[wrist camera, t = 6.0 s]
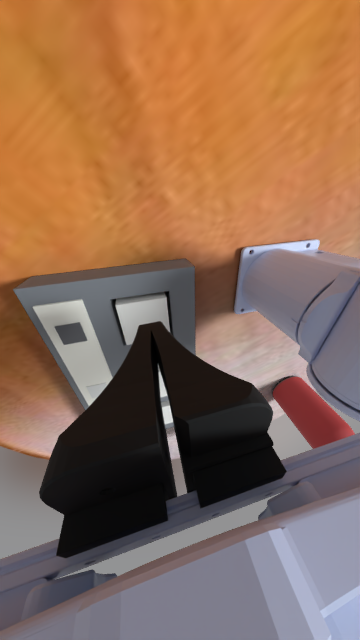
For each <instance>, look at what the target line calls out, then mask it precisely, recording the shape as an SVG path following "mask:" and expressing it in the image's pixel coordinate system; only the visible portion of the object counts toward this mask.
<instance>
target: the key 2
mask: <svg viewBox="0 0 360 640" xmlns="http://www.w3.org/2000/svg"><path fill="white" fill-rule="evenodd" d="M161 405H162V411H163V417H164V423H165V424H168V423H172V422H173V418H172V414H171V409H170V404H169V400H168V401H164V402H161Z"/></svg>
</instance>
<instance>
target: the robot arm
mask: <svg viewBox="0 0 360 640" xmlns="http://www.w3.org/2000/svg"><path fill="white" fill-rule="evenodd" d="M319 243H320V242H319V240H316V239H313V240H304V241H295V242H286V243H277V244H269V245H260V246H251V247H245V248H243V249H242V251H241V258H240V266H239V274H238V282H237V290H236V298H235V306H234V312H235V313H236V314H242V313H247V312H253V311H258V312H259V313H260V314H261V315H263V316H264V317H265V318H266V319H268V320H269V321H270V322H271V323H273V324H274V325H275V326H276V327H278V328H279V329H280V330H281V331H283V332H284V333H285V334H286V335H288V336H289V337H290V338H291V339H293V340H294V341H295V342H296V343H298V344H299V345H300V350H299V353H298V354H299V355H300V356H301V357H302V358H304V359H305V360H306V361H307V362H308V365H307V376H308V379H309V381H310V382H311V384H312V385H313V387H314V388H315V389H316V391H317V392H318V393H319V394H320V395H321V396H322V397H323V398H324V399H325V400H327V401H328V402H329V403H330V404H331V405H333V406H334V407H335V408H337V409H338V410H340V411H341V412H343V413H345V414H346V415H348V416H350V417H352V418H354V419H356V420H358V421H360V259H358V258H354V257H349V256H345V255H340V254H335V253H331V252H326V251H322V250H317V249H318V246H319ZM306 245H307V246H306ZM250 250H252V252H251V253H250V254H249V252H250ZM241 309H242V310H241ZM158 365H159V369H160V372H161V376H162V379H163V382H164V386H165V389H166V392H167V396H168V400H169V404H170V409H171V414H172V418H173V423H174V428H175V433H176V438H177V443H178V448H179V453H180V458H181V463H182V468H183V473H184V478H185V483H186V488H187V494H184V495H181V496H179V497H177V492H176V487H175V481H174V475H173V470H172V464H171V458H170V452H169V446H168V441H167V435H166V429H165V423H164V417H163V411H162V405H161V397H160V384H159V371H158ZM272 416H273V411H272V408H271V406H270V405H269V404H268V402H267V401H266V399H265V398H264V397H263V396H262V394H261V393H260V392H259V391H258V390H257V389H256V388H255V386H254V385H253V384H252V383H249V382H247V381H244V380H241V379H239V378H236V377H234V376H231V375H229V374H227V373H225V372H223V371H221V370H219V369H217V368H215V367H213V366H211V365H210V364H208V363H206V362H204V361H203V360H201V359H200V358H198V357H197V356H196V355H194V354H193V353H191V352H190V351H189V350H188V349H186V348H185V347H184V346H183V345H182V344H181V343H180V342H179V341H177V340H176V339H175V337H174V336H173V335H172V334H171V333H170V332H169V331H168V330H167V329H166V327H165V326H164V324H163V323H162V322H161V321H158V322H153V323H147V324H142V325H139V326H138V330H137V333H136V336H135V338H134V341H133V343H132V346H131V348H130V350H129V352H128V354H127V356H126V358H125V359H124V361H123V363H122V365H121V366H120V368H119V369H118V371H117V372H116V374H115V375H114V377H113V378H112V380H111V381H110V382H109V384H108V385H107V386H106V388H105V389H104V390H103V391H102V393H101V394H100V395H99V396H98V397H97V398H96V399H95V400H94V402H93V403H92V404H91V405H90V406H89V407H88V408H87V409H86V410H85V411H84V412H83V413H82V414H81V415H80V416H79V417H78V418H77V419H76V420H75V421H74V422H73V423H72V424H71V425H70V426H69V427H68V428H67V429H66V430H65V431H64V432H63V433H62V434H61V435H59V437H58V440H57V443H56V445H55V447H54V449H53V452H52V454H51V457H50V460H49V464H48V466H47V469H46V473H45V476H44V479H43V482H42V486H41V488H40V491H39V494H40V498H41V499H42V501H43V502H44V503H45V504H46V505H48V506H50V507H51V508H53V509H55V510H57V511H58V512H60V513H62V514H64V520H63V525H62V529H61V534H60V538H59V539H56V540H54V541H51V542H48V543H45V544H42V545H40V546H37V547H34V548H31V549H28V550H25V551H22V552H20V553H17V554H14V555H11V556H8V557H5V558H3V559H0V640H360V433H357V434H354V435H352V436H349V437H346V438H343V439H340V440H337V441H335V442H332V443H329V444H326V445H323V446H320V447H318V448H315V449H312V450H309V451H306V452H304V453H301V454H298V455H295V456H292V457H289V458H286V459H284V460H281V461H280V459H279V457H278V456H277V454H276V452H275V451H274V449H273V447H272V446H273V441H272V440H271V438H270V436H269V435H268V433H267V431H268V428H269V426H270V423H271V420H272ZM281 492H282V493H281ZM278 493H280V494H279V495H277V496H275V497H273V498H271V499H270V500H268V502H267V505H268V506H267V508H266V509H265V510H264V511H263V512H262V513H261V514H260V515H259V517H258V521H255V522H252V523H249V524H247V525H244V526H241V527H238V528H235V529H232V530H229V531H227V532H224V533H222V534H219V535H216V536H213V537H211V538H208V539H206V540H203V541H200V542H198V543H195V544H193V545H190V546H188V547H185V548H183V549H181V550H178V551H175V552H173V553H171V554H168V555H166V556H163V557H161V558H159V559H156V560H154V561H152V562H149V563H147V564H145V565H142V566H140V567H138V568H136V569H133V570H131V571H129V572H127V573H124V574H122V575H120V576H118V577H117V575H116V574H115V573H114V574H98V573H95V571H94V570H89V571H85V572H81V573H78V574H74V575H70V576H67V577H63V578H60V577H62V576H65V575H68V574H70V573H73V572H75V571H78V570H81V569H83V568H86V567H88V566H91V565H94V564H96V563H99V562H101V561H104V560H107V559H109V558H112V557H114V556H117V555H120V554H122V553H125V552H127V551H130V550H133V549H135V548H138V547H140V546H143V545H146V544H148V543H151V542H154V541H156V540H159V539H161V538H164V537H167V536H169V535H172V534H174V533H177V532H180V531H182V530H185V529H187V528H190V527H193V526H195V525H198V524H200V523H203V522H206V521H208V520H211V519H213V518H216V517H219V516H221V515H224V514H226V513H229V512H232V511H234V510H237V509H239V508H242V507H245V506H247V505H250V504H252V503H255V502H258V501H260V500H263V499H265V498H268V497H271V496H273V495H276V494H278ZM57 578H59V579H57Z"/></svg>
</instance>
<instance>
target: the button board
mask: <svg viewBox="0 0 360 640" xmlns="http://www.w3.org/2000/svg"><path fill="white" fill-rule="evenodd" d="M13 290H14V292H15V294H16V295H17V297H18V299H19V300H20V302H21V304H22V305H23V307H24V309H25V310H26V312H27V314H28V315H29V317H30V319H31V320H32V322H33V324H34V325H35V327H36V329H37V330H38V332H39V334H40V335H41V337H42V339H43V340H44V342H45V344H46V345H47V347H48V349H49V350H50V352H51V354H52V355H53V357H54V359H55V360H56V362H57V364H58V365H59V367H60V369H61V370H62V372H63V374H64V375H65V377H66V379H67V380H68V382H69V384H70V385H71V387H72V389H73V390H74V392H75V394H76V395H77V397H78V399H79V400H80V402H81V404H82V405H83V407H84V409H85V410H86V409H87V408H88V407H89V406H90V405H91V404H92V403H93V402H94V400H95V399H96V398H97V397H98V396H99V395H100V394H101V393H102V391H103V390H104V389H105V388H106V386H107V385H108V384H109V382H110V381H111V380H112V378H113V377H114V375H115V374H116V372H117V371H118V369H119V368H120V366H121V365H122V363H123V361H124V359H125V358H126V356H127V354H128V352H129V350H130V348H131V346H132V344H130V345H126V341H125V338H124V334H123V330H122V327H121V323H120V320H119V316H118V313H117V309H116V306H115V305H116V298H123V297H130V296H137V295H144V294H150V293H157V292H164V291H165V293H166V298H167V308H168V317H169V327H170V333H171V334H172V335H173V336H174V337H175V339H176V340H177V341H179V342H180V343H181V344H182V345H183V346H184V347H185V348H186V349H188V350H189V351H190V352H191V353H193V354H194V355H195V266H194V265H192V264H191V263H190V262H189V261H188V260H187V259H186V258H185V259H177V260H168V261H160V262H151V263H143V264H134V265H126V266H117V267H109V268H100V269H92V270H83V271H75V272H66V273H58V274H49V275H41V276H32V277H30V278H29V279H27V280H26V281H24V282H23V283H21V284H20V285H19V286H17V287H16V288H14V289H13ZM164 401H168V396H165V397H161V402H164ZM171 427H174V423H173V422H172V423H168V424H165V429H167V428H171Z"/></svg>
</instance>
